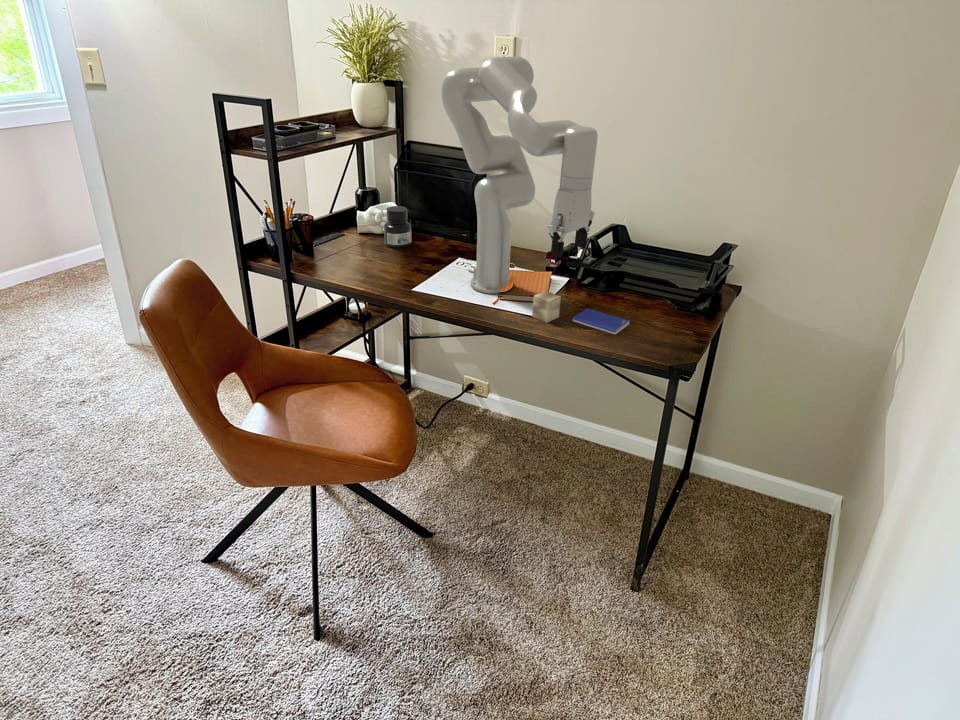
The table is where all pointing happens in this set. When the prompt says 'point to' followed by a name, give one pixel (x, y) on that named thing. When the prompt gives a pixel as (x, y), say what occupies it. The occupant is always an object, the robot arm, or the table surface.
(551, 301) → the beech block
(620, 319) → the hard drive
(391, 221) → the ink bottle
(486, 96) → the robot arm
